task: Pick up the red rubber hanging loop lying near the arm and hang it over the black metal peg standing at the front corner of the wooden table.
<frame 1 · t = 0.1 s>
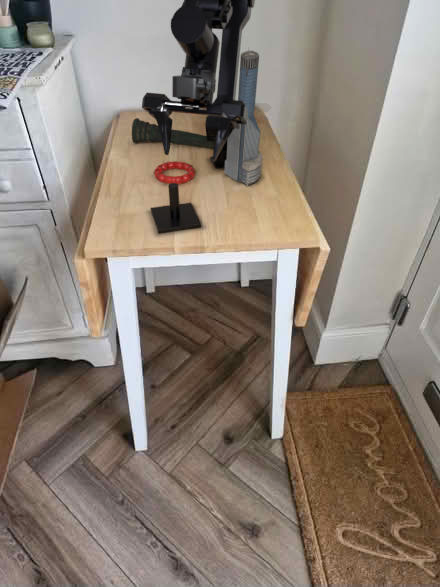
hand: (190, 157, 79), 15 cm above the table, tool tilted 30°, fingers open, 9 cm apart
building: (242, 176, 106), on the table, touching arm
ring: (174, 172, 105), point 1 cm above the table
peg: (175, 219, 91), on the table
tool: (182, 144, 121), on the table
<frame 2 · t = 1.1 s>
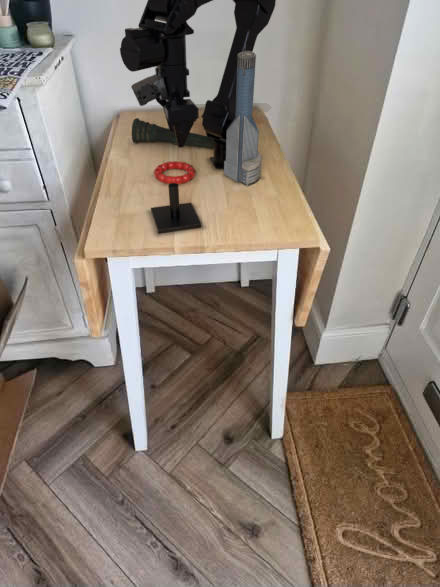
hand: (176, 139, 96), 11 cm above the table, tool pointing down, fingers open, 9 cm apart
building: (242, 176, 106), on the table
everything else where it was.
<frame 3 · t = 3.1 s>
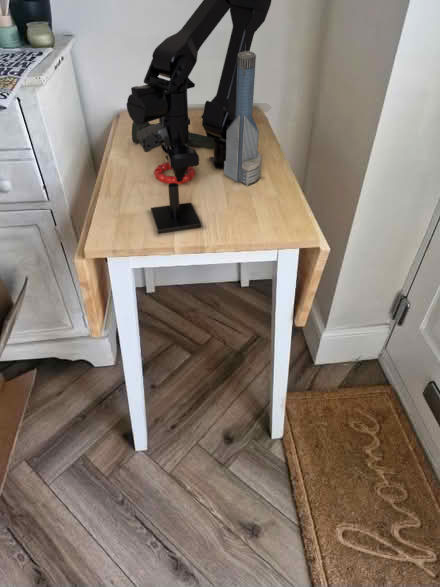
hand: (178, 179, 102), 1 cm above the table, tool pointing down, fingers closed on ring, 2 cm apart
ring: (174, 172, 105), point 1 cm above the table, touching gripper
everything else where it was.
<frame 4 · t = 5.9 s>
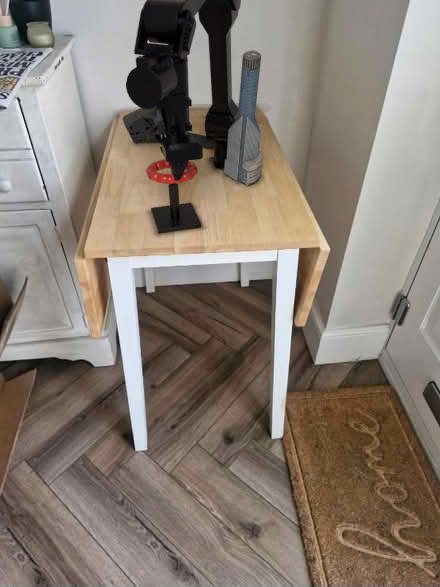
hand: (176, 177, 81), 11 cm above the table, tool pointing down, fingers closed on ring
building: (242, 175, 106), on the table, touching arm
ring: (171, 170, 85), point 11 cm above the table, touching gripper
everything else where it was.
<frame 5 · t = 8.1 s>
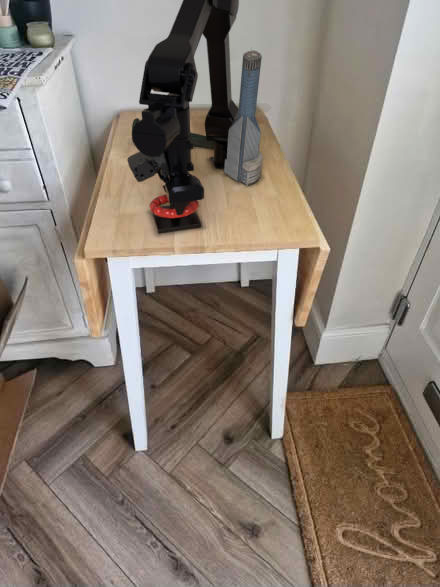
hand: (178, 212, 85), 4 cm above the table, tool pointing down, fingers closed on ring, 2 cm apart
ring: (174, 205, 88), point 3 cm above the table, tilted 7°, touching gripper
everything else where it was.
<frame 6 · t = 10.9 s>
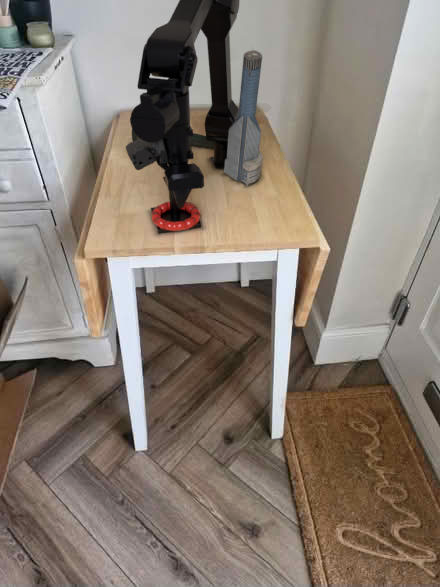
hand: (177, 201, 83), 6 cm above the table, tool pointing down, fingers open, 4 cm apart
ring: (176, 215, 88), point 2 cm above the table, touching peg
everything else where it was.
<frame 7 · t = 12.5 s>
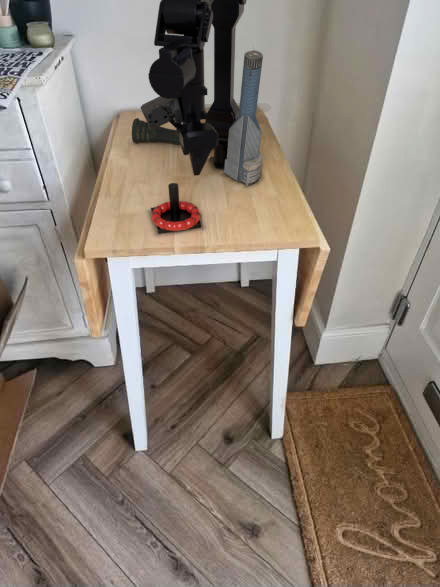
hand: (191, 164, 84), 12 cm above the table, tool pointing down, fingers open, 9 cm apart
nothing on the table moved.
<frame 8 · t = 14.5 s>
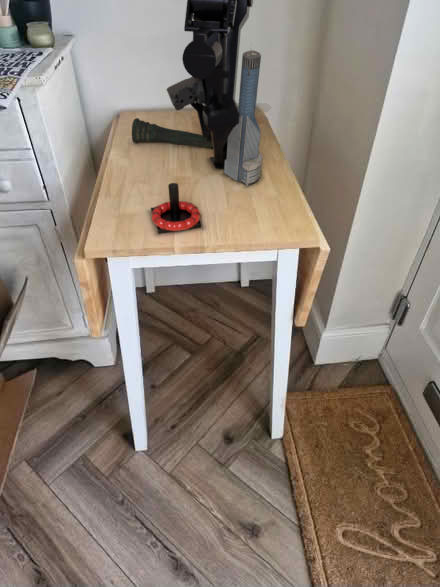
hand: (211, 145, 91), 12 cm above the table, tool pointing down, fingers open, 9 cm apart
nothing on the table moved.
at the end: ring 1.5 cm off-centre on the peg, point 1.9 cm above the peg's base; the gripper is holding nothing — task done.
